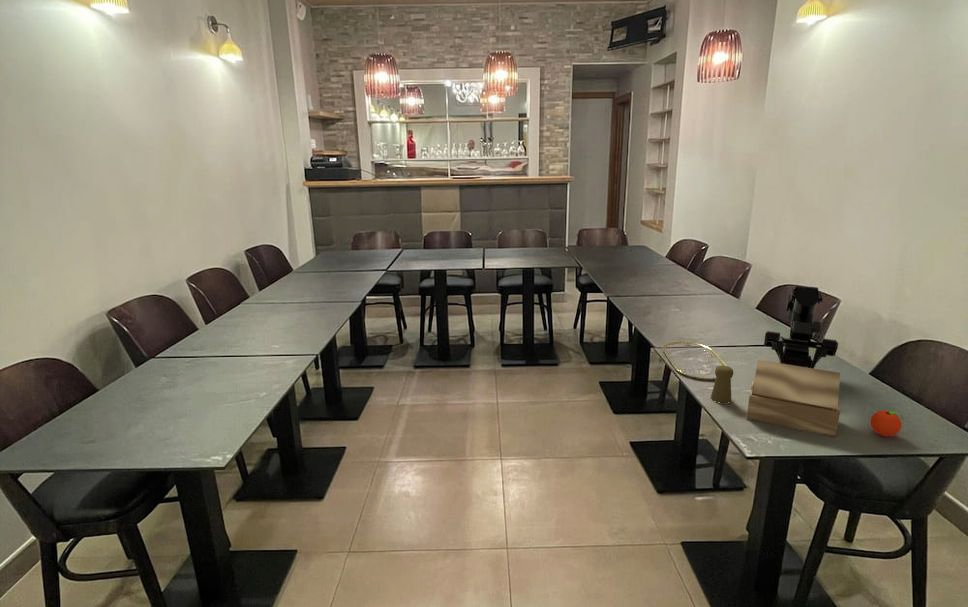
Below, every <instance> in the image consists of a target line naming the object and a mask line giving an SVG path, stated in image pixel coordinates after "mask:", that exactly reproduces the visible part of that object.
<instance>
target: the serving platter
mask: <svg viewBox="0 0 968 607" xmlns="http://www.w3.org/2000/svg"><path fill="white" fill-rule="evenodd" d="M681 343H684V344H685V343H686V344H695V345H699V346H702V347H704V348H706V349H708V350H709V351H711V352H712V354H713V355H714V356H715V357H716V358H717V359H718V360H719V362H720V363H721V364H722V365H723V366H727V364H726V363H725V362H724V361H723V360H722V359H721V358H720V356H718V354H717V353H716V352H715V351H714V350H713V349H711V348H710V347H709V346H706V345H703V344H701V343H696V342H691V341H690V342H689V341H671V342H668V343H665V344H664V345H662V351H663V353H664V354H665V356H666V357H667V359H668V360H669V363H671V365H672V366H673V368H674V370H676V372H677V373H679V374H680V375H683V376H685V375H686V377H687V376H689V377H688V378H690V377H692V378H691V379H694V378H696V379H695V380H700V379H703V381H715V380H716V377H703V376H702V377H701V376H696V375H691V374H688V373H685V372H683V371H681V370H679V369H677V368H678V367H677V365H676V364H675V363H674V364H675V365H676V366H675V365H674V364H673V362H674V361H673V360H672V361H673V362H672V361H671V359H672V358H671V357H670V358H671V359H670V358H669V356H670V355H669V354H668V352H667V351H666V352H667V353H666V352H665V348H666V347H667V346H668V345H669V346H670V345H674V344H681ZM667 354H668V355H669V356H668V355H667ZM676 367H677V368H676Z"/></svg>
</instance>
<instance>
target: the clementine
mask: <svg viewBox="0 0 968 607" xmlns="http://www.w3.org/2000/svg"><path fill="white" fill-rule="evenodd" d="M898 415H899V416H901V418H900V417H899V416H898ZM870 417H871V418H870V420H869V421H870V422H869V423H870V427H871V428H872V430H873V431H874V432H875V433H876V434H878V435H880V436H883V437H893V436H894V437H895V436H896V435H898V434H899V433H900V432H901V430H902V429H903V428H902V427H903V426H902V425H903V422H902V420H904V418H903V416H902V415H901V414H900V413H898V412H896V411H892V410H886V409H885V410H884V409H883V410H878V411H876V412H874V413H873V414H872V416H870ZM901 419H902V420H901Z"/></svg>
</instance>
